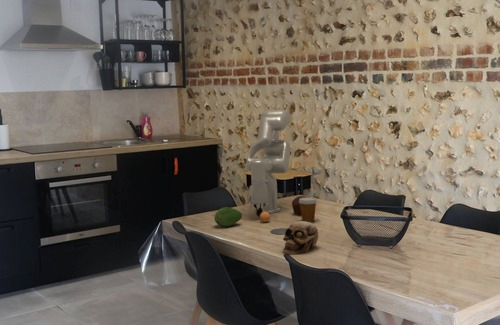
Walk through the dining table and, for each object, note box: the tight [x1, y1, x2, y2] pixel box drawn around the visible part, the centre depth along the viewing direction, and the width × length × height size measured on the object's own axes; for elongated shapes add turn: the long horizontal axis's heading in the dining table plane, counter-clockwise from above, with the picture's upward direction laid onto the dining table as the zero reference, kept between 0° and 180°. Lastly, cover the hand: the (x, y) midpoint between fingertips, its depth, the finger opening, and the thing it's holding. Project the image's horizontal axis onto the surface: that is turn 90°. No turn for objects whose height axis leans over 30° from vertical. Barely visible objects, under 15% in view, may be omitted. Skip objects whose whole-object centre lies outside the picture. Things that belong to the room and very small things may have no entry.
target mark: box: [269, 227, 288, 236], centre depth 314 cm, size 12×12×1 cm
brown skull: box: [282, 220, 319, 256], centre depth 281 cm, size 16×17×13 cm
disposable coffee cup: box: [299, 196, 318, 223], centre depth 334 cm, size 10×10×12 cm
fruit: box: [214, 206, 243, 228], centre depth 330 cm, size 15×10×10 cm, turn 115°
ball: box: [259, 212, 271, 223], centre depth 336 cm, size 6×6×6 cm
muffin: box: [291, 195, 306, 217], centre depth 351 cm, size 12×11×10 cm
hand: (259, 215), depth 344 cm, fingers closed
